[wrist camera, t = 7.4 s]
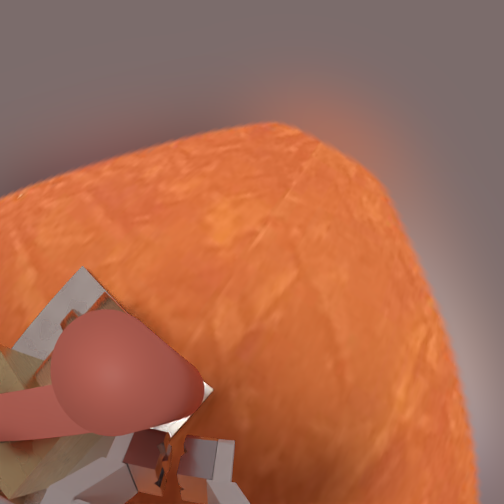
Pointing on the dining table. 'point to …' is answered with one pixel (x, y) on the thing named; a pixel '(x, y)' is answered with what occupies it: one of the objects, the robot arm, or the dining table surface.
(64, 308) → the valve body
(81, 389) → the lever
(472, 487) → the dining table surface
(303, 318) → the dining table surface
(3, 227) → the dining table surface
